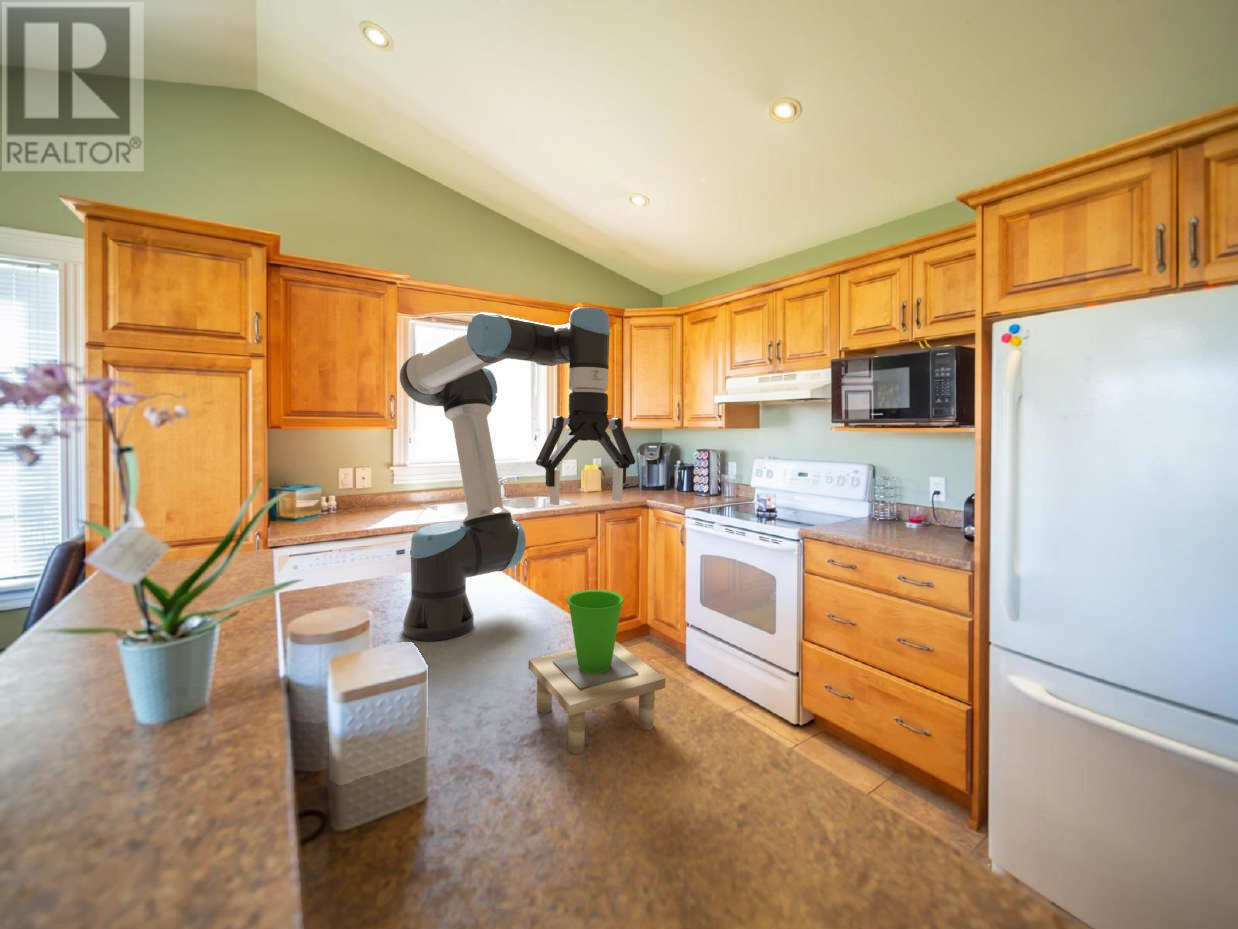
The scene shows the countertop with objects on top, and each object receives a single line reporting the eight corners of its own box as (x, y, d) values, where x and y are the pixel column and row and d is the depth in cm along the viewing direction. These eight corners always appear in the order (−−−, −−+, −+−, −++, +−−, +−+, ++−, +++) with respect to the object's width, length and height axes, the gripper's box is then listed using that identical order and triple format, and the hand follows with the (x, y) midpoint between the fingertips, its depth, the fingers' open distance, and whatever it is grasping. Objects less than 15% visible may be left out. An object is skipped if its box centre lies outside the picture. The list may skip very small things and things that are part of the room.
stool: (528, 706, 85) (528, 657, 84) (612, 683, 93) (613, 638, 92) (569, 761, 71) (570, 703, 70) (664, 728, 79) (665, 676, 79)
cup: (616, 683, 76) (617, 610, 75) (558, 676, 78) (558, 605, 77) (628, 657, 85) (629, 591, 84) (575, 651, 87) (575, 587, 86)
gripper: (533, 387, 89) (532, 508, 90) (653, 394, 101) (651, 501, 103) (519, 389, 95) (518, 503, 97) (633, 395, 108) (631, 496, 109)
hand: (586, 502), depth 100 cm, fingers open, 13 cm apart
